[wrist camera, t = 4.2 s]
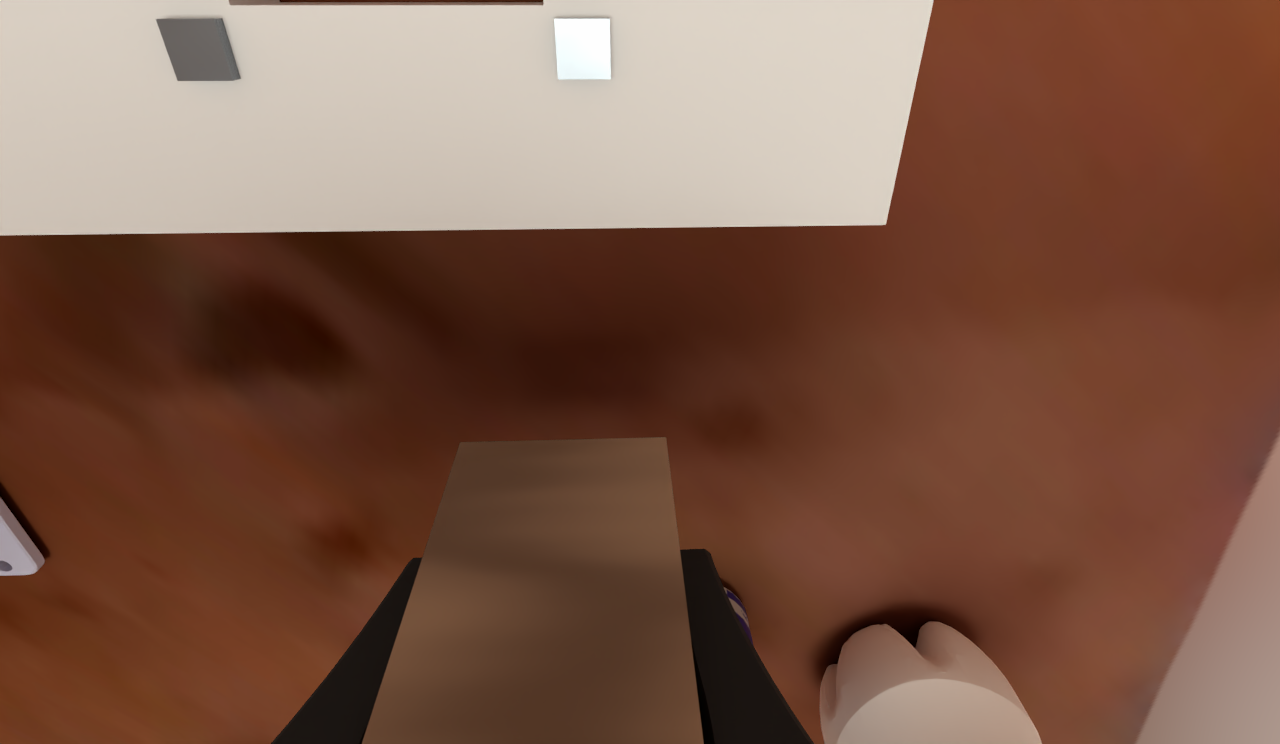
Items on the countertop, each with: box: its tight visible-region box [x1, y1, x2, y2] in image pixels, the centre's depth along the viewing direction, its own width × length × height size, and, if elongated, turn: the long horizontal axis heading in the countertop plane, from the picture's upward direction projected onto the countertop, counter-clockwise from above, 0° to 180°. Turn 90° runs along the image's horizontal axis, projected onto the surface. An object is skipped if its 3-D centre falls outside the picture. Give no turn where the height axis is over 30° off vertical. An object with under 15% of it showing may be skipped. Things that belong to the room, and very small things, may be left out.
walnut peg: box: [362, 437, 704, 744], centre depth 10 cm, size 4×4×7 cm
